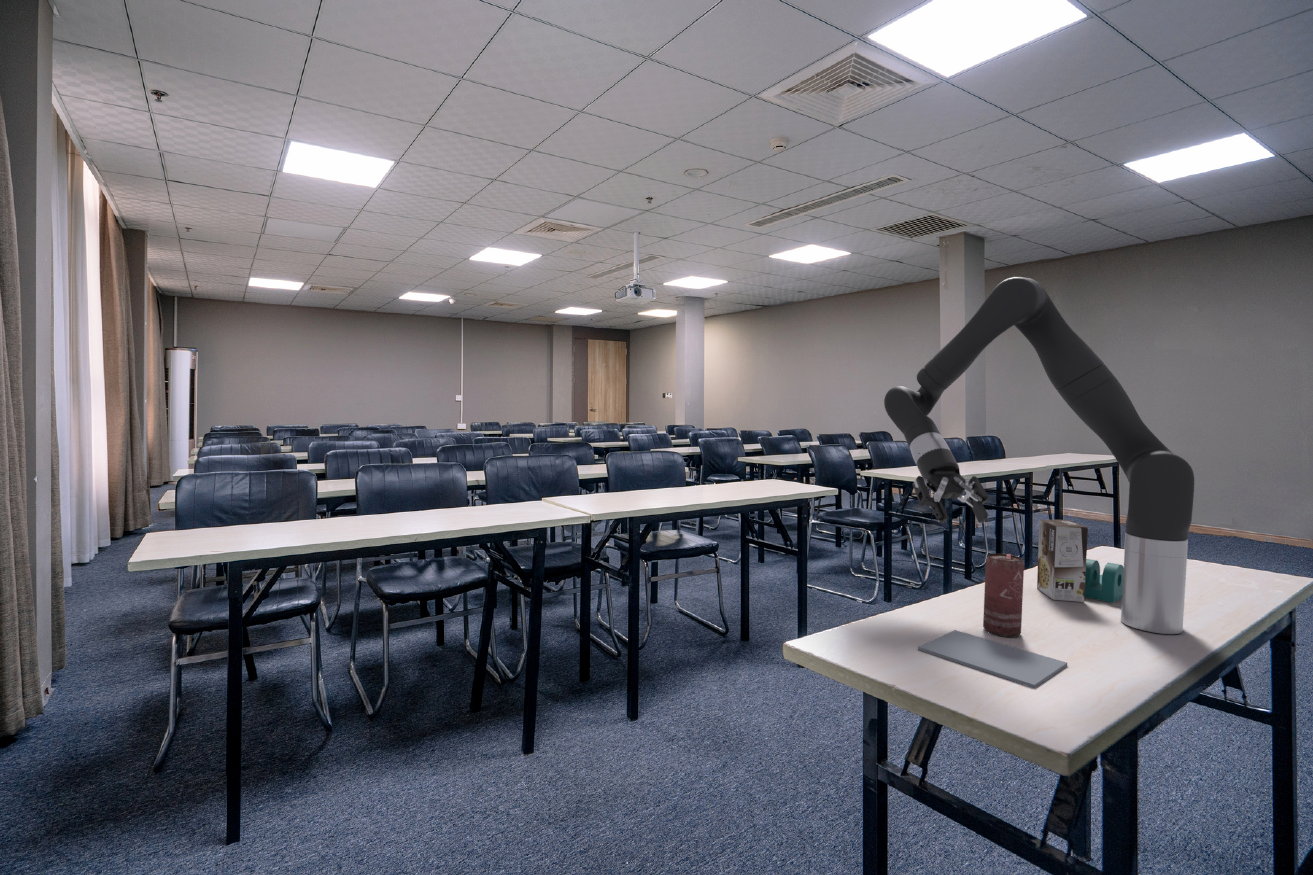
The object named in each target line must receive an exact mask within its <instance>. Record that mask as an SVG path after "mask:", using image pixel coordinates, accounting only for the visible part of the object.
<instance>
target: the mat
mask: <svg viewBox="0 0 1313 875" xmlns="http://www.w3.org/2000/svg"><path fill="white" fill-rule="evenodd" d="M917 650H919V651H922V652H924V653H926V654H930V655H933V656H936V657H939V658H942V659H945V660H947V661H951V662H953V663H957V664H961V665H964V666H965V667H966V666H967V667H970V668H972V669H975V670H978V671H981V672H984V673H987V674H990V675H993V676H997V677H999V678H1003V679H1005V680H1008V681H1012V682H1015V683H1017V684H1021V685H1024V686H1027V687H1029V688H1032V689H1035V688H1037V687H1039V686H1040V685H1042V684H1043V683H1044V682H1046V681H1047V680H1049V679H1051V678H1052V677H1053V676H1054V675H1056V674H1057V673H1059V672H1060V671H1062V670H1063V669H1065V668H1066V667H1067V666H1068V662H1066V661H1063V660H1060V659H1056V658H1053V657H1050V656H1045V655H1042V654H1038V653H1036V652H1032V651H1029V650H1026V649H1021V648H1018V647H1015V646H1011V645H1007V644H1004V643H1001V642H998V641H996V640H995V641H994V640H991V639H987V638H983V637H980V636H977V635H974V634H971V633H968V632H963V631H960V630H957V629H954V630H951V631H950V632H947V633H945V634H943V635H940V636H938V637H936V638H934V639H932V640H930V641H927V642H925V643H923V644H921V645H919V646H917Z"/></svg>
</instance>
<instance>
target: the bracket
mask: <svg viewBox="0 0 1313 875" xmlns="http://www.w3.org/2000/svg"><path fill="white" fill-rule="evenodd" d="M1123 569H1124V565H1122V564H1120V563H1113V562H1106V564H1105V565H1104V568H1103V569H1102V570H1103V571H1102V574H1101V566H1100V562H1099V560H1097V559H1096V560H1095V559H1092V558H1091V559H1090V558H1086V574H1085V594H1084V598H1088V599H1093V600H1097V601H1102V602H1106V603H1111V604H1114V603H1116V602H1118V601H1120V600H1122V588H1123Z"/></svg>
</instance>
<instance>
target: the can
mask: <svg viewBox="0 0 1313 875" xmlns="http://www.w3.org/2000/svg"><path fill="white" fill-rule="evenodd" d="M984 572H985V573H984V574H985V575H984V598H983V617H982V618H983V619H982V620H983V621H982V622H983V623H982V627H983V628H984V630H985V632H987V633H988V632H989V634H991V635H993V636H996V635H997V636H996V637H1003V638H1017V637H1019V636H1020V635H1021V633H1022V621H1023V620H1022V619H1023V600H1024V599H1023V596H1024V576H1025V575H1024V574H1025V573H1024V572H1025V562H1024V560H1023V557H1020V556H1018V555H1017V556H1016V555H1012V554H1011V553H989V554H988V556H987V557H986V558H985V570H984Z"/></svg>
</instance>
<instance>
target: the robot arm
mask: <svg viewBox="0 0 1313 875" xmlns="http://www.w3.org/2000/svg"><path fill="white" fill-rule="evenodd" d="M1013 326H1014V327H1015V328H1016V329H1017V330H1018V331H1019V332H1020V333H1021V334H1022V335H1023V336H1024V337H1025V338H1026V340H1028V342H1029V343H1030V344H1031V346H1032V348H1033V349H1034V350H1035V352H1036V353H1037V356H1038V358H1039V360H1040V363H1041V365H1042V367H1043V370H1044V371H1045V374H1046V375H1047V378H1048V379H1049V381H1050V384H1052V386H1053V387H1054V389H1055V390H1056V391H1057V393H1058V394H1059V395H1060V396H1061V398H1062V399H1063V400H1064V402H1065V403H1066V404H1067V405H1068V407H1069V408H1070V409H1071V410H1072V411H1073V412H1074V413H1075V415H1076V416H1078V418H1079V419H1080V420H1081V421H1082V422H1083V423H1084V424H1085V425H1086V426H1087V427H1088V428H1089V429H1090V430H1091V431H1092V432H1094V434H1096V436H1097V437H1099V439H1101V441H1103V443H1104V444H1105V445H1106V446H1107V448H1108V449H1109V451H1110V453H1111V454H1112V456H1113V457H1114V458H1115V460H1116V461H1117V464H1118V465H1119V467H1120V468H1121V470H1122V471H1123V474H1124V475H1125V477H1126V479H1127V481H1128V483H1129V488H1128V489H1129V490H1128V491H1129V492H1128V508H1127V515H1126V519H1125V531H1124V532H1125V533H1124V535H1125V536H1124V549H1123V550H1124V553H1123V568H1124V569H1123V588H1122V598H1121V608H1120V610H1121V612H1120V622H1122V623H1123V624H1125V625H1126V626H1128V627H1130V628H1133V629H1137V630H1141V631H1145V632H1149V633H1155V634H1156V633H1157V634H1162V635H1178V634H1181V633H1183V632H1184V631H1183V630H1184V628H1183V627H1184V615H1185V614H1184V613H1185V598H1186V582H1187V581H1186V580H1187V568H1188V566H1187V565H1188V564H1187V563H1188V548H1189V547H1188V545H1189V543H1188V542H1189V532H1190V531H1189V530H1190V528H1191V525H1192V518H1193V508H1194V507H1193V506H1194V497H1195V473H1194V470H1193V468H1192V466H1191V465H1190V463H1189V462H1188V461H1187V460H1186V459H1184V458H1183V457H1181V456H1179V455H1177V454H1175V453H1173V451H1172V450H1170V449H1169V448H1168V447H1167V446H1166V445H1165V444H1164V443H1163V442H1162V441H1161V440H1160V439H1159V438H1158V437H1157V436H1156V435H1155V434H1154V433H1153V432H1152V431H1151V430H1150V429H1149V427H1148V426H1147V425H1146V424H1145V422H1144V421H1143V419H1141V416H1140V415H1139V414H1138V412H1137V410H1136V408H1135V406H1134V404H1133V402H1132V400H1131V398H1130V397H1129V395H1128V393H1127V391H1126V390H1125V388H1124V387H1123V385H1122V384H1121V383H1120V381H1119V380H1118V378H1117V377H1116V376H1115V375H1114V374H1113V372H1112V371H1111V370H1110V368H1109V367H1108V366H1107V365H1106V364H1105V363H1104V361H1103V360H1102V359H1101V358H1100V357H1099V356H1098V355H1097V354H1096V353H1095V352H1094V350H1093V349H1092V348H1091V347H1090V346H1089V345H1088V344H1087V343H1086V342H1085V341H1084V340H1083V339H1082V338H1081V337H1080V336H1079V334H1077V333H1076V332H1075V331H1074V330H1073V329H1072V328H1071V326H1070V325H1069V324H1068V323H1067V321H1066V320H1065V319H1064V317H1063V316H1062V314H1061V313H1060V311H1059V310H1058V308H1057V307H1056V305H1055V304H1054V302H1053V300H1052V299H1051V297H1050V295H1049V294H1048V292H1047V290H1046V288H1044V286H1043V285H1042V284H1041V283H1040V282H1039V281H1037V280H1035V279H1033V278H1030V277H1022V276H1013V277H1008V278H1006V279H1004V280H1003V281H1000V283H998V284H997V285H995V287H994V288H993V290H991V292H990V294H989V295H988V297H987V298H986V299H985V301H983V303H982V304H981V306H980V307H979V308H978V310H977V311H976V313H975V314H974V315H973V316H972V317H971V318H970V320H968V322H967V323H966V324H965V325H964V326H963V327H962V329H960V330H959V331H958V333H957V334H956V335H955V336H954V337H953V338H952V339H950V341H949V342H947V344H945V346H943V347H942V348H941V350H939V351H937V353H936V354H935V355H934V356H933V357H931V359H930V360H929V361H928V362H927V363H926V364H925V365H923V366H922V367H921V369H919V371H918V372H917V374H916V381H917V383H918V384H919V385H920V387H919V388H918V390H916V391H915V390H913V389H911V388H908V387H906V386H901V385H897V386H894V387H892V388H890V389H889V390H888V391H887V392H886V393H885V396H884V400H883V405H884V409H885V412H886V414H887V416H888V417H889V418H890V420H891V421H892V422H893V424H894V425H895V426H896V428H897V429H898V430H899V431H900V432H901V433H902V435H904V438H905V441H906V444H907V445H908V447H909V450H910V453H911V455H912V459H913V461H914V463H915V465H916V467H917V469H918V471H919V473H920V475H918V476H917V477H916V478H915V480H914V481H913V483H912V487H913V489H914V493H915V495H916V497H917V500H918V503H919V505H920V506H923V507H925V506H928V507H929V508H930V509H931V510H932V513H933V514H934V517H935V518H936V520H937V521H939V523H940V524H945V523H946V522H947V521H948V520H949V515H948V512H947V511H946V509H945V506H944V504H943V502H942V501H941V500H942V499H943V500H947V499H954V500H955V499H956V500H958V501H960V502H961V503H966V504H967V505H968V506H970V507H971V510H972V512H973V514H974V516H975V518H976V519H977V521H978V523H982V524H983V523H984V522H986V520H987V519H988V517H989V513H988V512H987V510H986V508H985V506H984V504H985V503H986V502H987V501H988V500H989V498H990V497H989V495H988V493H987V492H986V490H985V488H984V487H983V485H982V483H981V481H980V480H979V479H978V477H977V476H976V475H972V477H971V478H964V476H963V475H961V472H960V466H959V464H958V462H957V461H956V458H955V455H954V454H953V453H952V451H951V449H950V447H949V445H948V443H947V442H946V441H945V439H944V438H943V435H942V434H941V432H940V430H939V429H938V426H937V425H936V423H935V422H934V420H933V419H932V418H930V417H929V415H930V413H931V412H932V410H933V408H934V407H935V406H936V404H937V403H938V401H939V400H940V398H941V396H942V394H943V393H944V392H945V391H946V390H947V389H948V388H949V387H950V386H951V385H953V383H954V382H956V381H957V380H958V379H959V378H960V377H961V376H962V375H963V374H964V373H965V372H966V371H967V370H968V369H969V368H970V367H971V366H972V365H973V363H974V361H976V359H977V358H978V357H979V355H980V354H981V353H982V352H983V351H984V350H985V349H986V348H987V347H988V346H989V345H990V344H991V343H992V342H993V341H994V340H996V339H997V338H998V337H999V336H1000V335H1003V333H1004V332H1007V330H1009V329H1010V328H1012V327H1013ZM928 490H930V491H931V492H932V495H930V493H929V491H928ZM964 492H965V493H966V494H964V495H963V493H964ZM940 501H941V502H940Z"/></svg>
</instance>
